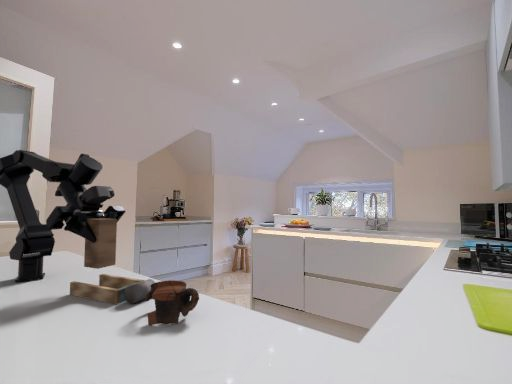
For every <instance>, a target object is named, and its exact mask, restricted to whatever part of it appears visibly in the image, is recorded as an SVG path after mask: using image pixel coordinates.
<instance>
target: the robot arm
mask: <svg viewBox="0 0 512 384" xmlns="http://www.w3.org/2000/svg"><path fill="white" fill-rule="evenodd" d="M102 170H103V164H102V163H101V162H100V161H98V160H97V159H95V158H93V157H91V156H90V155H89V154H85V153H80V155H79V156H78V158H77V159H76V162H75V163H74V164H73V163H68V162H67V163H66V162H59V161H55V160H52V159H50V158H48V157H45V156H42V155H40V154H38V153H37V152H35V151H29V150H24V149H19V150H18V149H17V150H15V151H14V152H13V153H10V154H8V155H6V156H2V157H0V186H2V188H4V189H6V190H7V194H8V197H9V200H10V203H11V206H12V209H13V212H14V215H15V218H16V221H17V224H18V227H19V230H18V232H17V235H16V237H15V243H14V245H13V246H12V247H11V249H10V250H9V252H8V253H9V259H10V260H15V261H18V269H17V270H18V271H17V276H16V277H15V279H13V281H14V283H16V282H25V281H26V282H27V281H34V280H43V279H44V278H45V275H46V273H45V272H44V257H50V256H52V254H53V250H54V247H55V243H56V241H55V237H54V236H55V234H54V233H53V231H54V230H62V229H63V230H64V231H65V232H70V233H73V234H75V235H77V236H80V237H82V238H83V239H84V240H85V239H87V240H89V241H91V242H93V243H95V242H96V240H97V239H96V237H95V234H94V233H93V231H92V229H91V228H90V226H89V224H88V222H87V219H98V218H109V219H117V223H118V222H119V221H120V220H121V218H122V217H123V216H124V215H125V214H126V210H125V208H124V207H123V205H109V206H107V208H106V209H105V211H103V210H101V209H102V208H103V206H104V202H106V201H108V200H111V199H113V198H114V197H115V190H114V189H113V188H112V187H111V186H107V185H103V186H101V185H92V186H90V187H89V188H88V189H87V188H86V186H85V185H91V184H93V183H94V180H96V178H97V176H98V175H99V174H100V173H101V171H102ZM35 171H38V172H40V173H41V174H42V175H41V176H42V178H44V179H45V181H48V183H57V184H58V183H59V185H58V186H57V189H56V191H55V192H54V196H55V197H62V198H63V199H64V201H65V202H66V205H57V206H55V207H54V208H53V209H52V211H51V212H50V214H49V215H48V217H47V218H46V219H45V223H46V224H43V223H42V222H41V221H40V219H39V216H38V213H37V210H36V208H35V205H34V202H33V199H32V196H31V193H30V190H29V187H28V185H27V183H28V182H29V179H30V178H31V174H32V173H34V172H35ZM64 222H65V223H64ZM52 230H53V231H52Z"/></svg>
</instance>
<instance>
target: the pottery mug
mask: <svg viewBox="0 0 512 384" xmlns="http://www.w3.org/2000/svg"><path fill="white" fill-rule="evenodd" d="M150 287H151V290H150V291H149V292H148V293H147V295H146V298H145V301H146V302H148V301H150V300H154V307H155V310H154V311H151V312H148V313H147V323H148V326H152V325H157V324H158V325H159V324H163V325H168V324H172V325H173V324H179V318H180V314H181V315H182V316H183V317H184V318H185V317H187V316H188V315H189V312H190V311H191V312H192V311H193V310H194V309H195V308H196V306H197V305H198V303H199V300H200V295H199V294H200V293H199V292H198V290H196V289H195V288H193V287H187V283H186V282H184V281H183V280H174V279H173V280H170V279H169V280H161V281H157V282H155V283H153V284H151V286H150Z"/></svg>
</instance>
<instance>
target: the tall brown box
mask: <svg viewBox="0 0 512 384" xmlns="http://www.w3.org/2000/svg"><path fill="white" fill-rule="evenodd" d="M87 222H88V224H89V226H90V228H91V229H92V231H93V233H94V234H95V237H96V239H97V240H96V242H95V243H93V242H91V241H89V240H87V239H85V238H84V258H83V259H84V261H83V263H84V264H83V268H84V267H85V268H89V269H95V270H96V269H98V270H99V269H102V268H108V267H112V266H115V265H116V260H117V259H116V258H117V257H116V256H117V254H116V253H117V231H118V230H117V229H118V227H117V226H118V224H117V223H118V222H117V219H109V218H98V219H87Z"/></svg>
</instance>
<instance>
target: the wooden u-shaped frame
mask: <svg viewBox="0 0 512 384" xmlns="http://www.w3.org/2000/svg"><path fill="white" fill-rule="evenodd" d="M153 283H156V282H155V280H153V279H151V278H149V279H146V280H145V279H139V278H132V277H131V278H130V277H127V276H120V275H114V274H107V273H100V274H99V280H98V284H92V283H86V282H81V281H76V280H75V281H71V282H69V295H71V296H76V297H81V298H85V299H89V300H95V301H100V302H104V303H110V304H113V305H114V304H115V305H119V304H121V303H124V302H127V303H129V304H131V305H133V304H135V303H138V302H141V301H142V300H146V299H147V298H146V295H147V293H148V292H149V291H150V290H151V287H150V286H151V284H153Z"/></svg>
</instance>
